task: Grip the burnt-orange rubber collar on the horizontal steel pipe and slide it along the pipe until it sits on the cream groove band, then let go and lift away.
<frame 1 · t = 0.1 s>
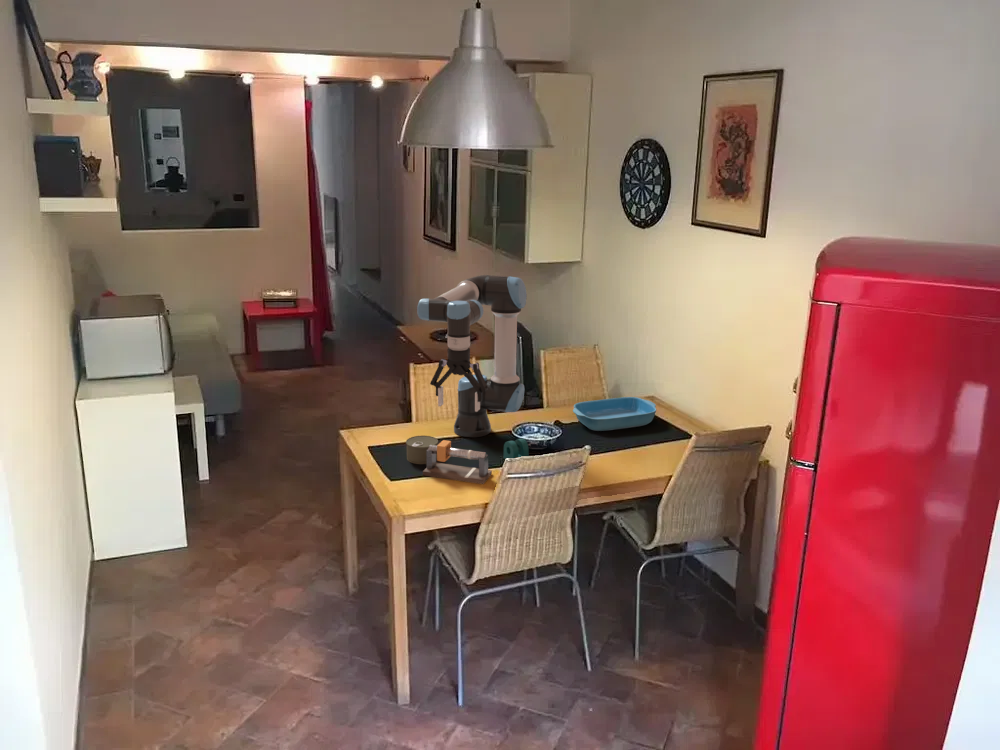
hand: (459, 407, 283), 28 cm above the table, fingers open, 13 cm apart
can: (422, 458, 312), on the table
bracket: (524, 465, 307), on the table
casserole dish: (614, 422, 352), on the table
pipe stand: (457, 474, 297), on the table
collar: (444, 450, 296), point 8 cm above the table, slide at 0.0 cm
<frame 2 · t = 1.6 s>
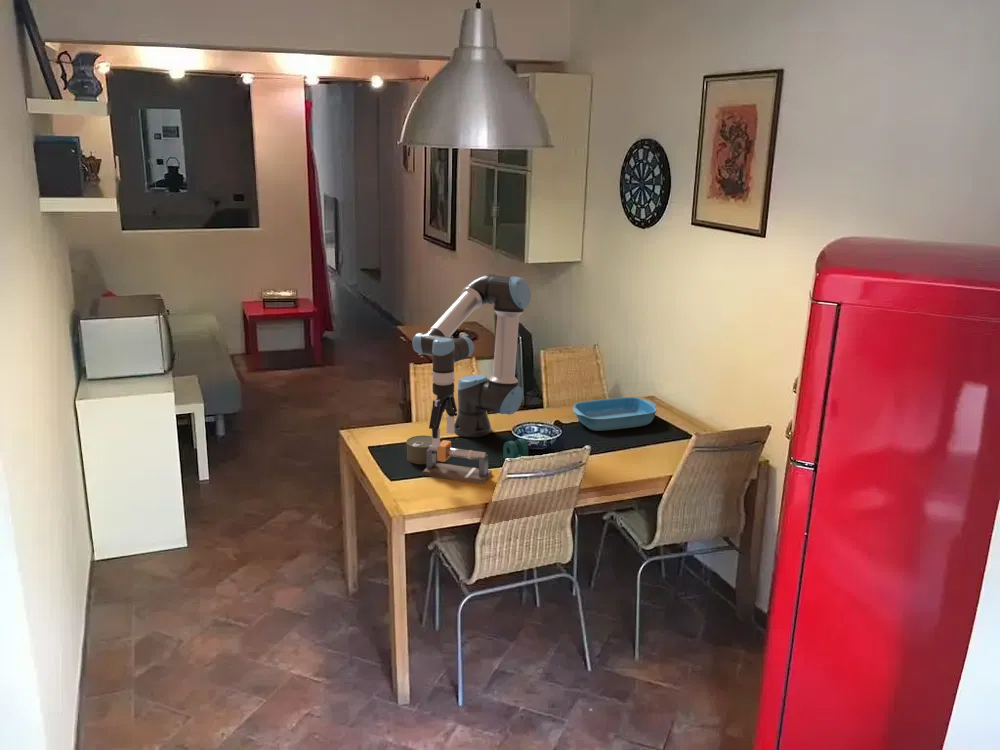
hand: (443, 439, 295), 13 cm above the table, fingers open, 13 cm apart
nothing on the table moved.
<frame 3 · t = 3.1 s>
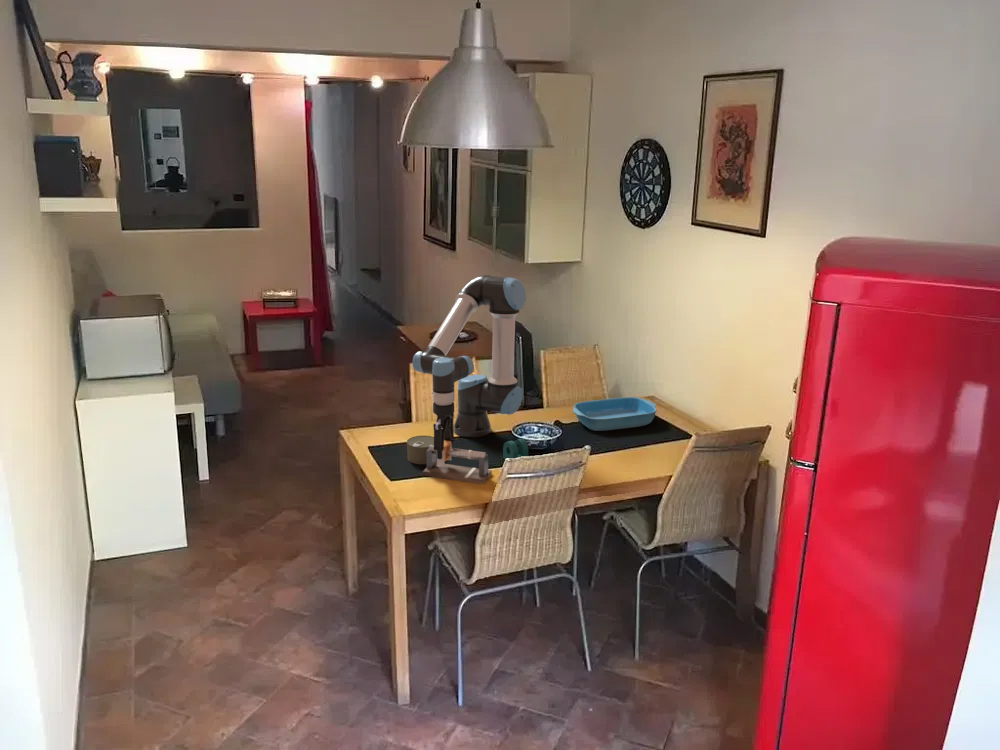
hand: (444, 462, 298), 4 cm above the table, fingers closed on collar, 6 cm apart
collar: (444, 450, 296), point 8 cm above the table, slide at 0.0 cm, touching gripper
everything else where it was.
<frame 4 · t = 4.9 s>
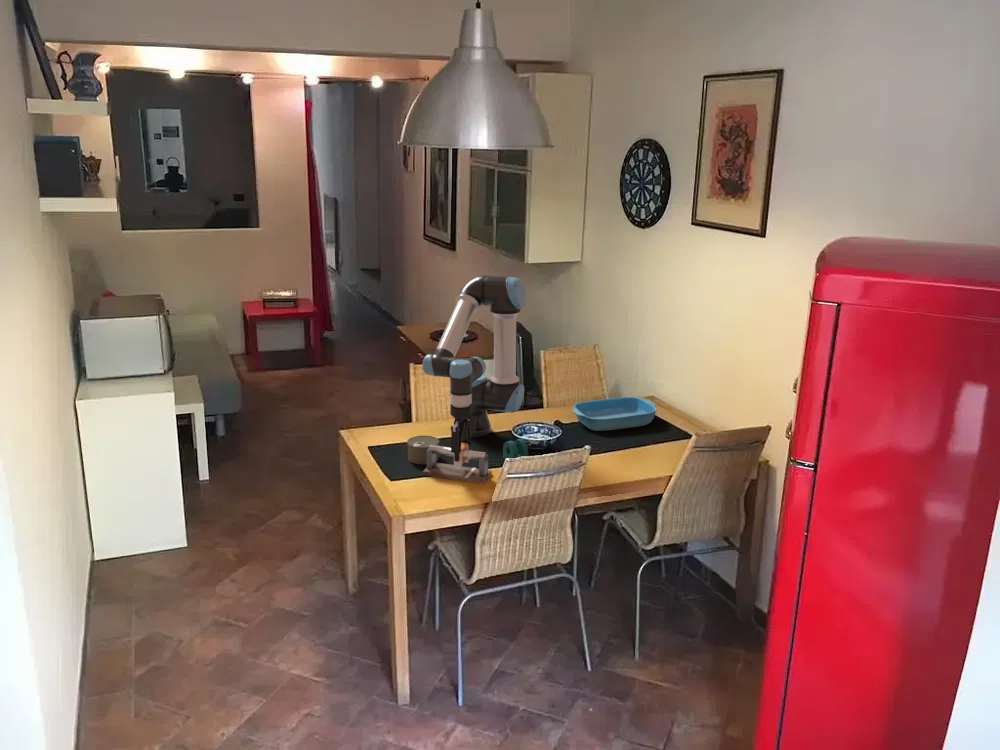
hand: (461, 465, 296), 4 cm above the table, fingers closed on collar, 6 cm apart
collar: (461, 453, 294), point 8 cm above the table, slide at 6.5 cm, touching gripper
everything else where it was.
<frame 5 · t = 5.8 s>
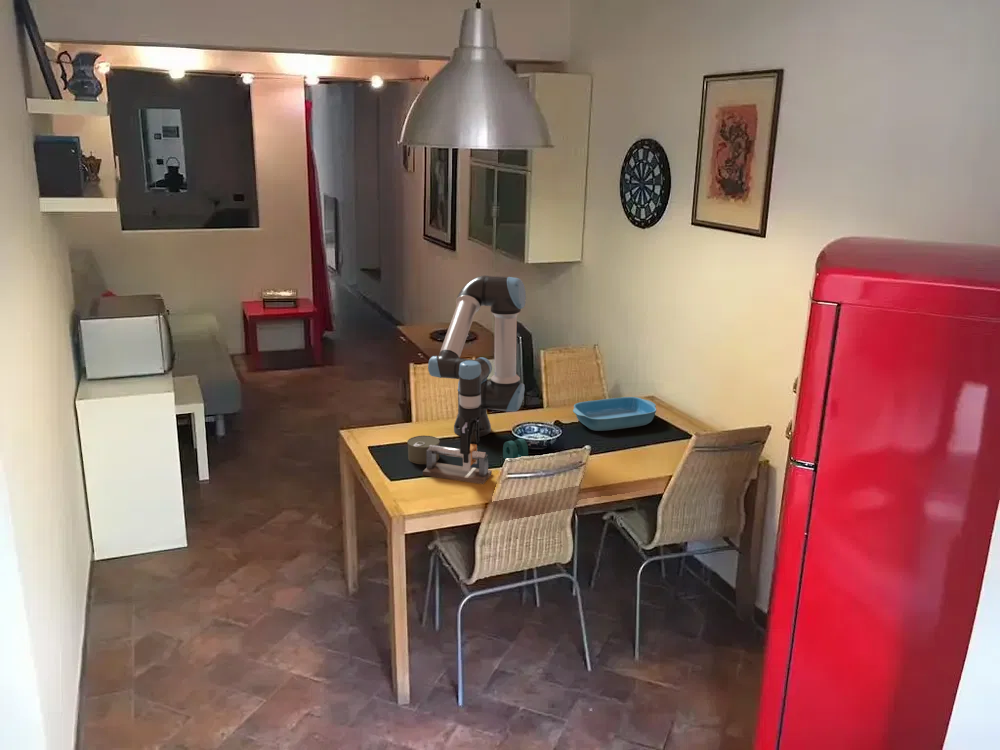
hand: (470, 466, 295), 4 cm above the table, fingers closed on collar, 6 cm apart
collar: (470, 454, 293), point 8 cm above the table, slide at 9.9 cm, touching gripper
everything else where it was.
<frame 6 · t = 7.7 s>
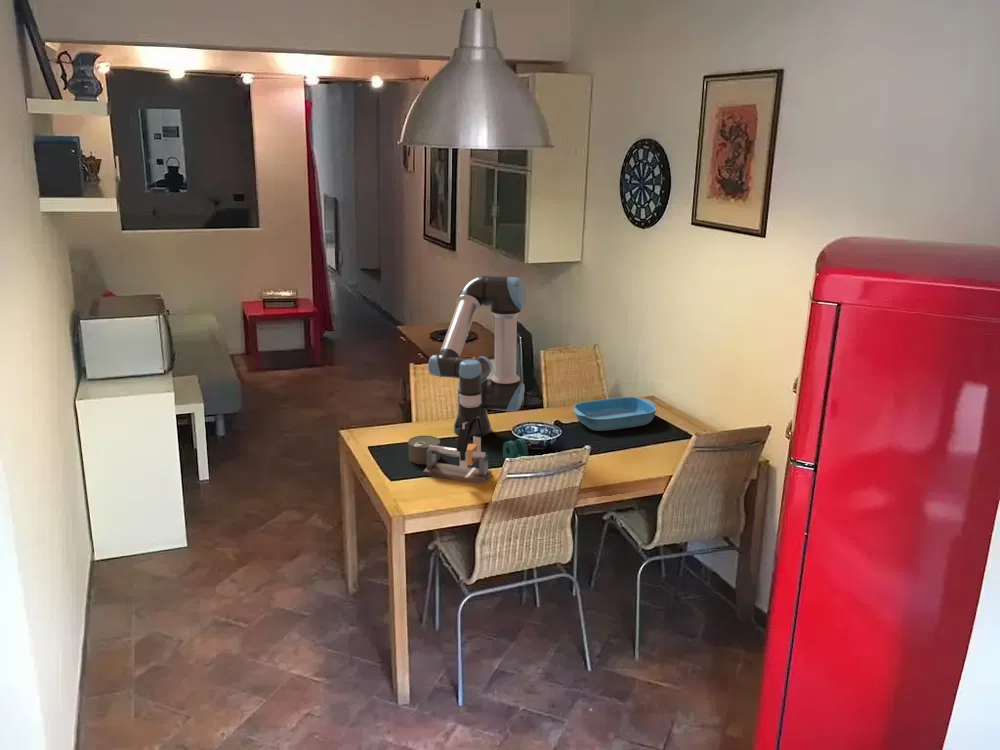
hand: (470, 460, 294), 6 cm above the table, fingers open, 13 cm apart
collar: (470, 454, 293), point 8 cm above the table, slide at 10.0 cm
everything else where it was.
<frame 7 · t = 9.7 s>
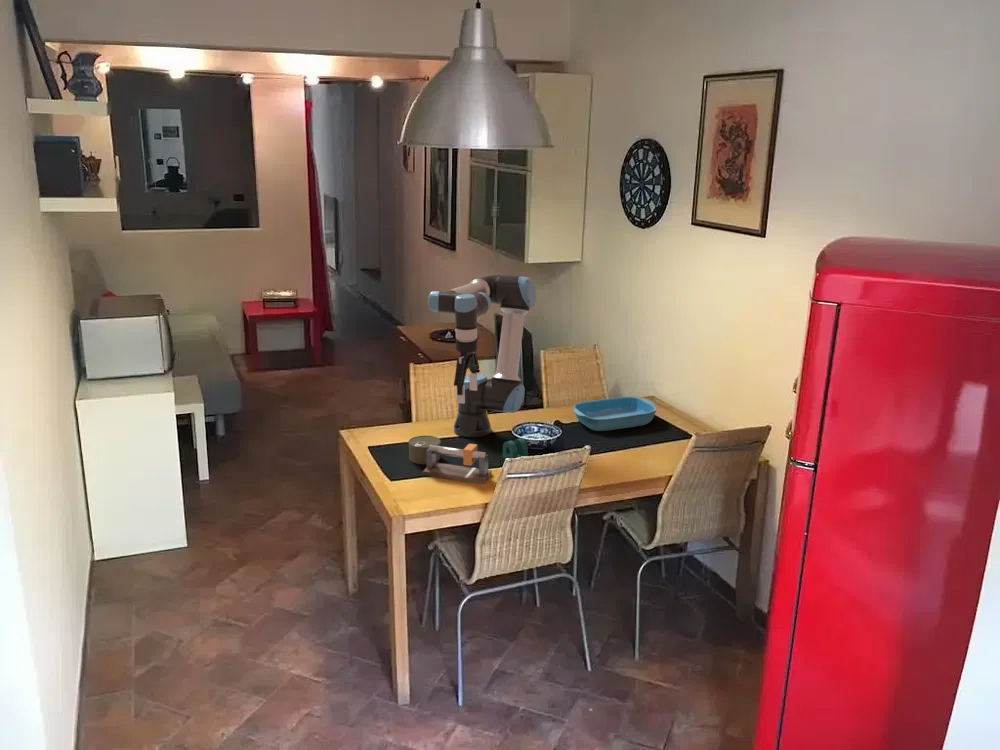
hand: (467, 396, 295), 28 cm above the table, fingers open, 13 cm apart
nothing on the table moved.
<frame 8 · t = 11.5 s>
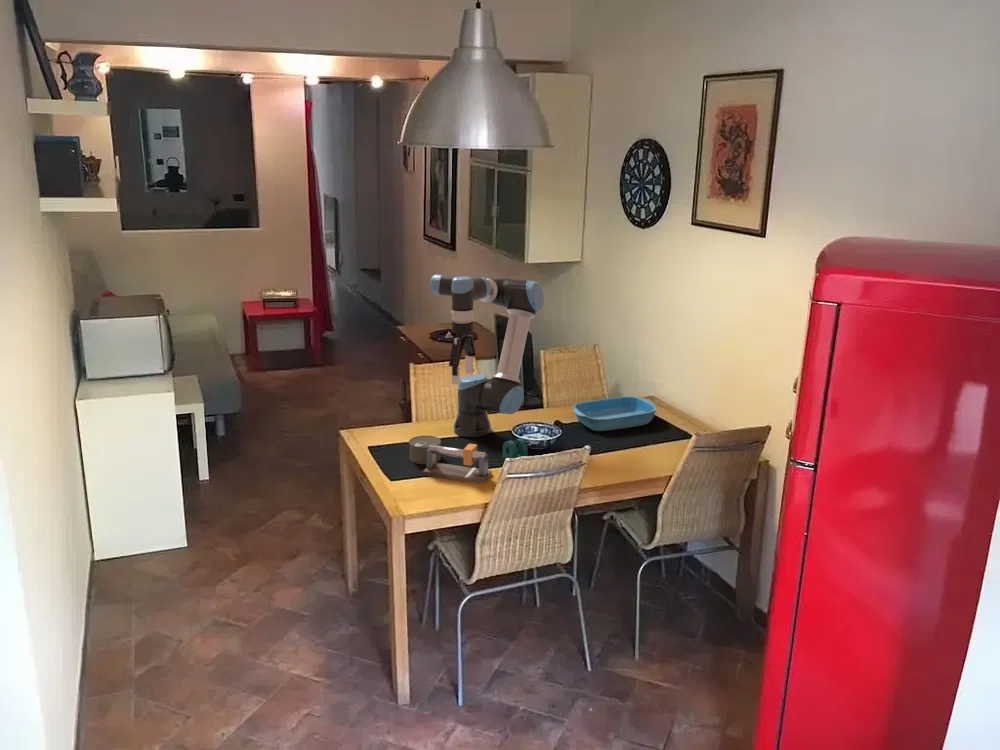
hand: (462, 378, 298), 33 cm above the table, fingers open, 13 cm apart
at the end: collar slide at 10.0 cm; the gripper is holding nothing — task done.
